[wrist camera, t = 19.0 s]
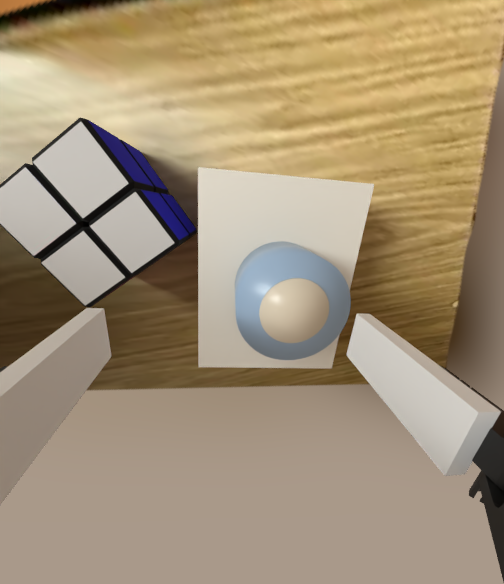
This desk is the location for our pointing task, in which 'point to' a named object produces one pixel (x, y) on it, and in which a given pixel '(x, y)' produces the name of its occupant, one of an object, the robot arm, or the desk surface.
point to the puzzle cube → (92, 211)
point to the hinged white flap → (259, 231)
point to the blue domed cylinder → (289, 301)
